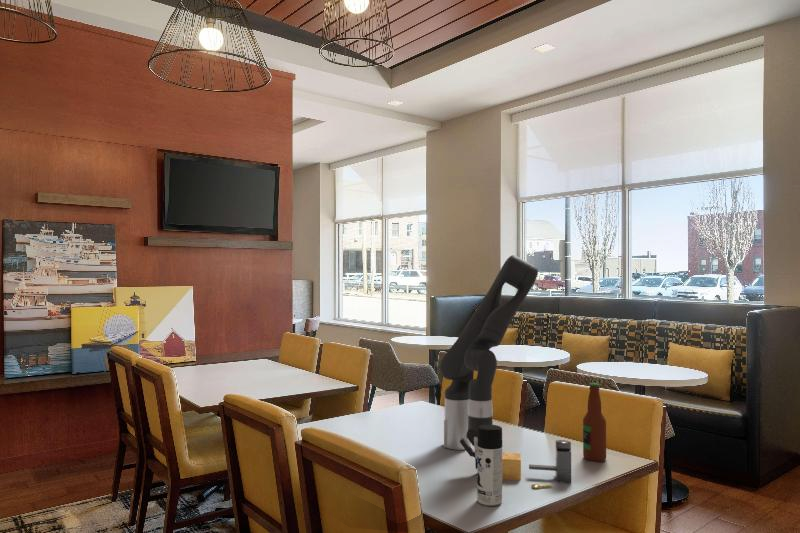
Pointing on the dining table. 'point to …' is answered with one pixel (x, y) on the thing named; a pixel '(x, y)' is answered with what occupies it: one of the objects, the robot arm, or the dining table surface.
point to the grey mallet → (560, 462)
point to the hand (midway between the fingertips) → (480, 470)
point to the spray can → (489, 465)
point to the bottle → (594, 428)
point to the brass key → (541, 486)
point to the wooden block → (511, 466)
